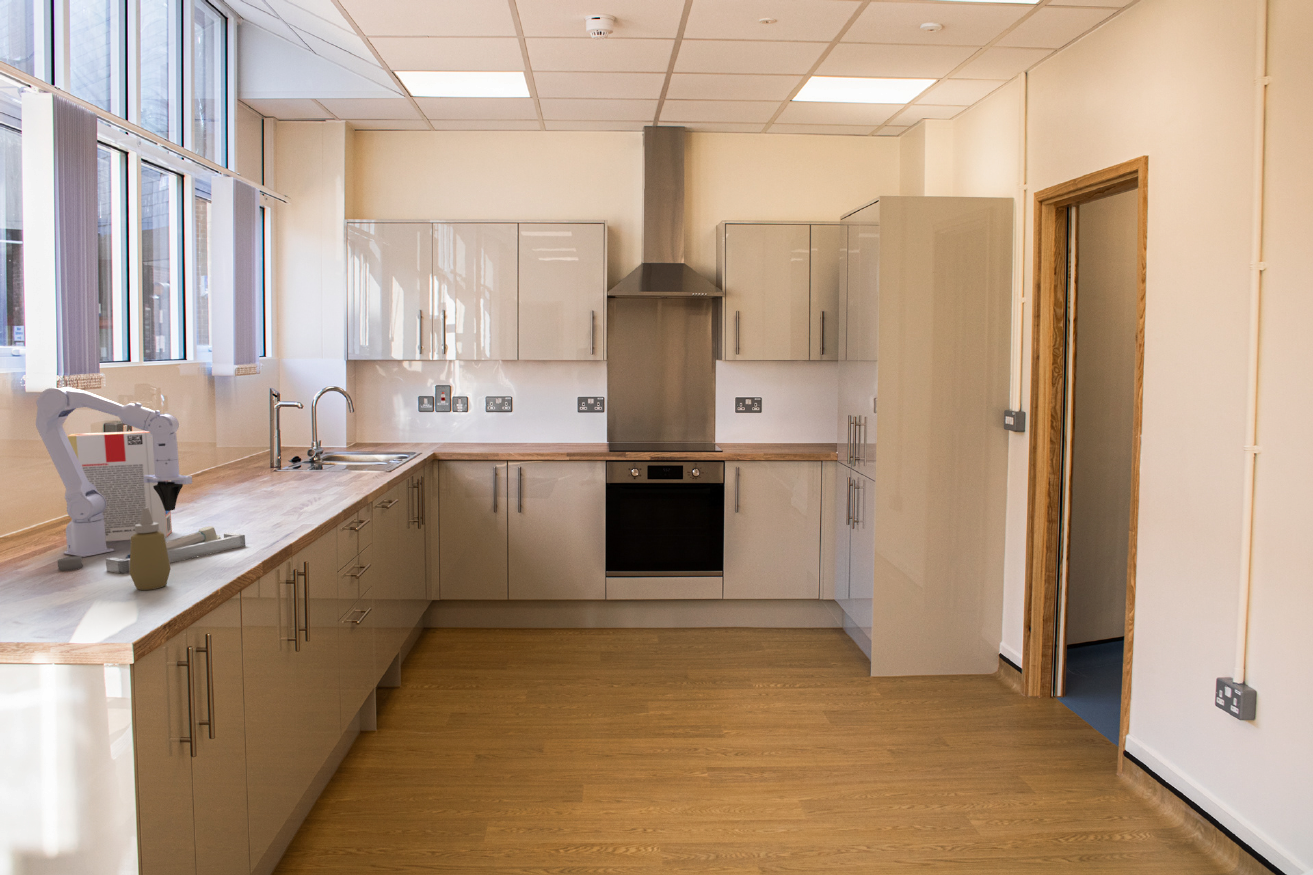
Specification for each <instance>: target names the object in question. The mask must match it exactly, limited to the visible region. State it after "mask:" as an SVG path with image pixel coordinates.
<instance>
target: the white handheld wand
mask: <svg viewBox="0 0 1313 875" xmlns="http://www.w3.org/2000/svg"><path fill="white" fill-rule="evenodd" d="M217 539H222V538H221V535H218V534H217V532H216V529H215V527H214V526H213V525H210V526H205V527H201V528H199V529H198V531H196V532H193V533H190V534H187V535H184V536H180V537H177V538H175V539H171V540H167V541H165V542H166V547H167V550H171V549H175V548H180V547H185V546H189V545H194V544H199V543H203V542H208V541H213V540H217ZM129 558H130V553H128V554H127V555H126V557H125V559H129Z"/></svg>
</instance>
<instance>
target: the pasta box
mask: <svg viewBox="0 0 1313 875" xmlns="http://www.w3.org/2000/svg"><path fill="white" fill-rule="evenodd" d="M67 437H68V439H69V441H70V443H71V446H72V448H73V450H74V452H75V454H76V456H77V458H78V460H79V462H80V464H81V467H82V469H83V471H84V473H85V475H86V477H87V479H88V481H89V482H90V483H92V484H93V485H94V486H95V487H96V489H97V491H98V492H99V493H100V494H102V495H103V496H104V497H105V499H106V502H107V506H106V509H105V510H104V511H103V512H102V513H103V515H104V523H105V536H106V542H116V541H129V540H130V541H131V537H132V536H133V535H134V534H137V533H136V532H135V525H136V524H140V520H141V514H142V508H149V511H150V514H151V517H152V520H153V522H156V523H158V524H159V530H158V531H159V532H162V533H163V534H164V537H165V538H168V536H170V534H171V533H172V532H173V528H172V515H171V513H172V512H171V511H165V509H164V506H163V504H162V501H161V499H160V497H159V495H158V493H157V492H156V491H155V489H154V488H153V486H155V485H157V484H158V483H144V477H143V476H145V475H155V467H154V452H153V435H152V434H151V433H150V432H149V431H144V430H134V431H130V430H129V431H111V432H110V431H109V432H88V433H87V432H84V433H83V432H82V433H71V434H69V435H67Z"/></svg>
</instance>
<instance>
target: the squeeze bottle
mask: <svg viewBox="0 0 1313 875" xmlns="http://www.w3.org/2000/svg"><path fill="white" fill-rule="evenodd" d="M158 530H159V524H158V523H156V522H153V520H152V517H151V514H150V511H149V508H142V514H141V520H140V524H136V525H135V532H136V533H137V534H134V535H133V536H132V537H131V540H130V547H129V548H130V549H129V550H130V552H129V554H130V572H129V576H130V578H131V580H132V581H133V582H132V583H133V584H134V586H135V588H136V590H139V591H149V590H156V589H160V588H162V587H165V586H167V583H168V580H169V577H170V573H171V570H172V569H171V563H169V558H168V553H167V547H166V542H167V541H166V537H164V534H163V533H162V532H159V531H158Z"/></svg>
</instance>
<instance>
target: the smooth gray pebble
mask: <svg viewBox="0 0 1313 875" xmlns="http://www.w3.org/2000/svg"><path fill="white" fill-rule="evenodd" d="M57 567H58V568H57V570H58V571H59V572H68V571H69V572H70V571H71V572H72V571H77V570H80V569H83V568H84V566H83V558H82V557H81V556H75V555H72V556H67V557H66V556H65V557H63V558H59V559H58V560H57ZM82 567H83V568H82ZM76 569H77V570H76Z"/></svg>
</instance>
